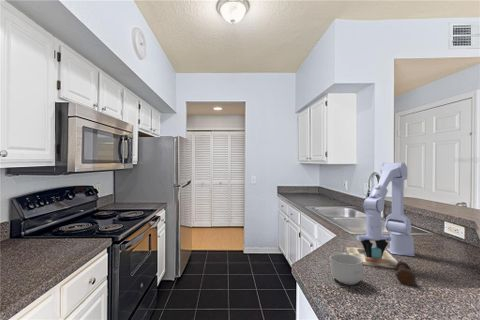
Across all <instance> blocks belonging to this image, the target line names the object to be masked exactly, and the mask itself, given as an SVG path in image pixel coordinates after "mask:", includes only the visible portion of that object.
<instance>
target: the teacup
mask: <svg viewBox="0 0 480 320" xmlns="http://www.w3.org/2000/svg"><path fill="white" fill-rule="evenodd" d="M329 264H330V266H329V267H330V272H331V275H332V277H333V278H334V279H335V280H336V281H338V282H339V283H341V284H344V285H351V286H353V285H356V284H358V283H359V282H360V281H362V279H363V278H364V277H363V276H364V265H363V260H362V259H361V258H360V257H357V256H354V255H350V254H348V252H343V253H336V254H332V255H330V256H329Z"/></svg>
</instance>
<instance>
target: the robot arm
mask: <svg viewBox="0 0 480 320" xmlns="http://www.w3.org/2000/svg"><path fill="white" fill-rule="evenodd" d="M379 168H380V169H379V170H380V178H379V181H378V184H376V185H374V186H373V187H372V189H371V192H370V194H369V197H366V198H365V199H364V201H363V204H362V205H363V210H364V214H365V221H366V222H365V224H366V225H365V226H366V230H365V231H366V233H365V234H359V235H356V241H359V242H360V243H361V245H362V246H363V247H362V248H363V249H365V252H364V253H365V257H366V256H367V257H370V258H371V249H372V246H374V245H373V243H372V242H371V241H374V242H375V246H376V247H378V248H379V249H381V258H382V255H383V252H384V251H387V252H388V253H389V252H390V253H389V254H391V255H400V256H407V257H409V256H410V257H416V255H415V243H414V242H415V240H414V238H413V235H411V233H412V229H413V228H412V223H411V222H412V221H411V219H410V218H409V217H408V216H407V215H405V213H404V205H405V203H404V201H405V199H404V198H405V196H404V195H405V194H404V192H405V191H404V190H405V189H404V184H405V182H404V181H405V180H407V179H408V166H407V164H406V163H405V162H403V161H402V162H382V163H381V165H380V167H379ZM390 183H391V213H389V214H388V215H386V217H385V223H384V228H385V230H386V231H387V233H388V234H389V235H387V234H382V212H383V210H384V209H385V203H386V201H385V198H387V194H388V192H389V190H388V186H389V184H390ZM388 244H389V247H388V248H387V246H388ZM385 249H386V250H385Z"/></svg>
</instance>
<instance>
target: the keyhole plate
mask: <svg viewBox="0 0 480 320" xmlns="http://www.w3.org/2000/svg"><path fill="white" fill-rule="evenodd" d="M345 250H346V253H347V254H350V255H354V256H357V257H360V258H361V259H362V260H363V266H372V267H378V268H380V267H381V268H389V269H396V268H395V266H396V264H397V263H398V262H399V261H397V259H396V258H395V257H393V255H392V254H391V253H389V251H388V250H384V252H383V255H382V258H381V259H379V258H370V257H366V255H365V254H364V253H366V252H365V249H364V247H351V246H346V247H345ZM360 252H362V253H360Z"/></svg>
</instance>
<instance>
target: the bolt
mask: <svg viewBox="0 0 480 320" xmlns="http://www.w3.org/2000/svg"><path fill="white" fill-rule="evenodd" d="M397 262H398V263H397V264H396V266H395V268H394V269H396V273H394V274H395V276H396V279H397V280H398V282H399V284H402V285H405V286H412V285H413V284H414V283H415V281H416V280H417V278H416V277H415V275H414V274H413V272H412V269H411V268H410V266H409V264H408V263H407V262H405V261H402V260H399V261H397Z"/></svg>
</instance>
